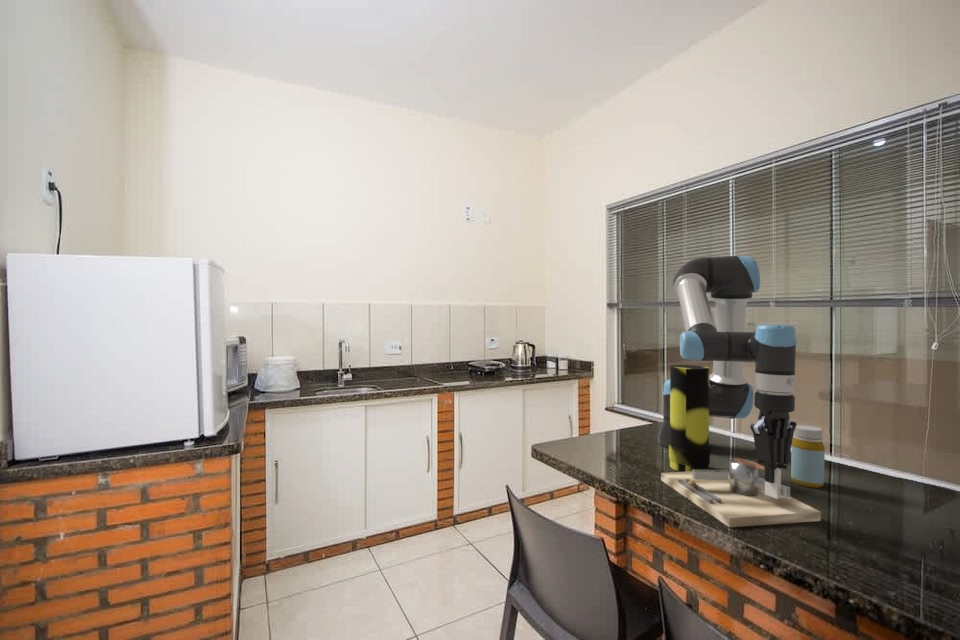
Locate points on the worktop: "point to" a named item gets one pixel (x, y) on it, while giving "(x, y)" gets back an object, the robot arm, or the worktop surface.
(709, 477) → the capstan
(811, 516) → the stand
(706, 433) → the container
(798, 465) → the bottle
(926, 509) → the worktop surface
